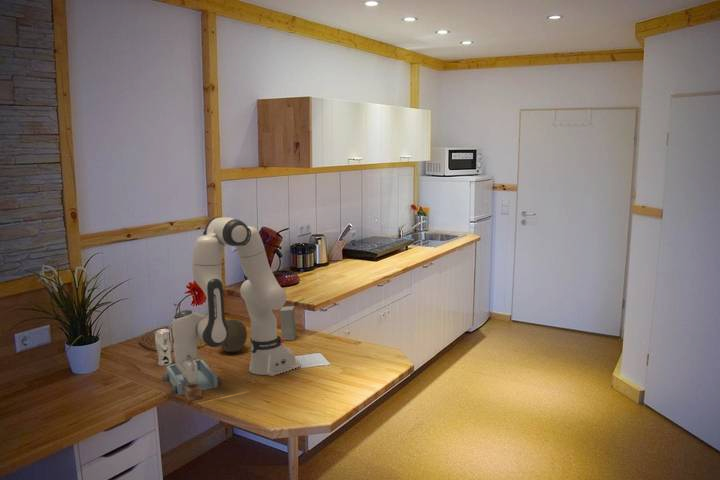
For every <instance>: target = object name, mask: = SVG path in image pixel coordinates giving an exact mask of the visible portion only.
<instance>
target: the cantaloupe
mask: <svg viewBox="0 0 720 480" xmlns="http://www.w3.org/2000/svg"><path fill="white" fill-rule="evenodd" d="M225 321H226V324H227V326H228V328H229V336H228V338H227V340H226V342H225V343H224V344H222V345H221V346H220V347H221V348H222V350H223V351H225V352H228V353H237V352H239V351H240V350H242V349H243V347H244V346H245V343H246V341H247V338H248V331H247V327H246V326H245V323H243V322H242V321H241V320H239V319H228V320H225Z"/></svg>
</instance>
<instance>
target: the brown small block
mask: <svg viewBox="0 0 720 480" xmlns="http://www.w3.org/2000/svg"><path fill="white" fill-rule="evenodd" d="M184 397H185V398H186V400H187V402H190V401H195V400H200V399H203V398H202V397H203V395H202V390H201V387H200V386H199V384H198V383H197V384H192V385H188V386H185V394H184Z"/></svg>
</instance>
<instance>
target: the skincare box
mask: <svg viewBox="0 0 720 480" xmlns="http://www.w3.org/2000/svg"><path fill="white" fill-rule="evenodd" d="M295 316H296V314H295V306H294V305H293V306H288V305H287V306H282V307H281V308H280V309H279V317H280V319H279V320H280V330H281V338H284V339H285V340H286V341H295V339H296V336H297V328H296V327H297V326H296V317H295Z"/></svg>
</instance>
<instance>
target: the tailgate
mask: <svg viewBox="0 0 720 480" xmlns="http://www.w3.org/2000/svg"><path fill="white" fill-rule="evenodd" d="M214 399H221V396H218V397H214V398H208V399H204V400H201V401H196V402H192V403H188V406H189V405H193V404H197V403H198V404H199V403H202V402H206V401H210V400H214Z"/></svg>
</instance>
